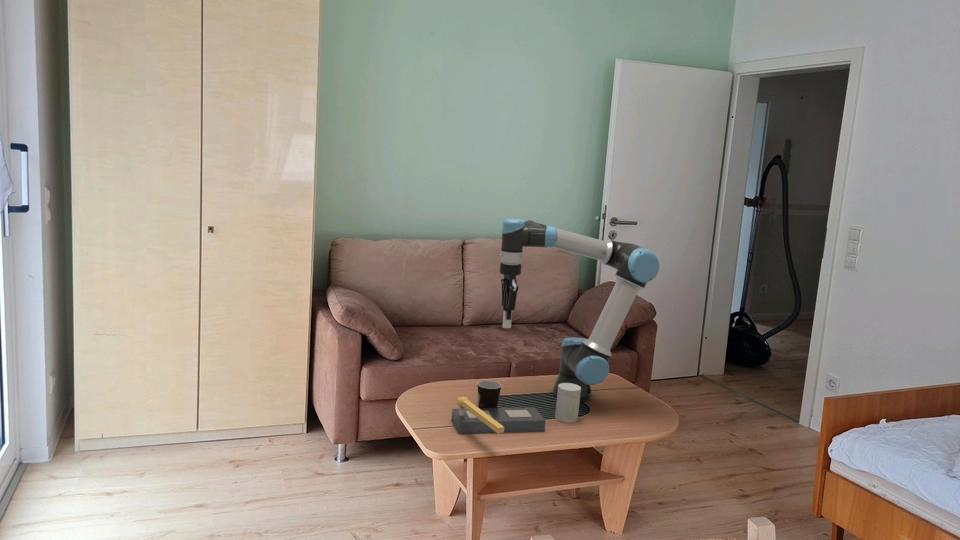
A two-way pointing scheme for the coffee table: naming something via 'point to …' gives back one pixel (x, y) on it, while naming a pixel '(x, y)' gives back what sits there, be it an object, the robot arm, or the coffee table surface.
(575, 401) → the gray cylinder
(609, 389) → the coffee table surface
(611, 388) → the coffee table surface
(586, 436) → the coffee table surface
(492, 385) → the coffee mug
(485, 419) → the bar
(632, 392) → the coffee table surface
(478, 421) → the chassis
